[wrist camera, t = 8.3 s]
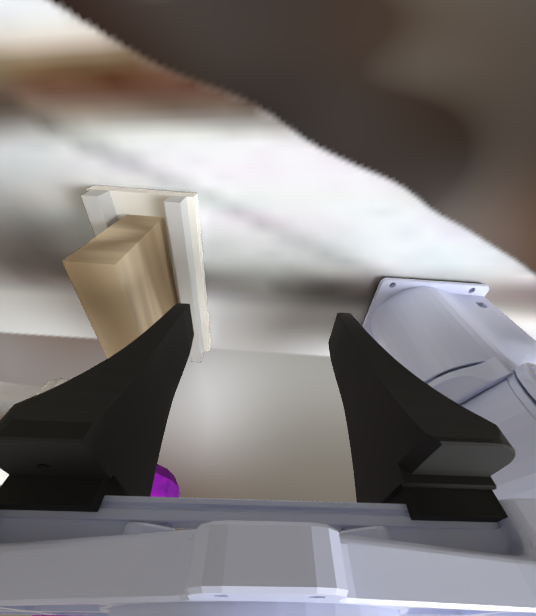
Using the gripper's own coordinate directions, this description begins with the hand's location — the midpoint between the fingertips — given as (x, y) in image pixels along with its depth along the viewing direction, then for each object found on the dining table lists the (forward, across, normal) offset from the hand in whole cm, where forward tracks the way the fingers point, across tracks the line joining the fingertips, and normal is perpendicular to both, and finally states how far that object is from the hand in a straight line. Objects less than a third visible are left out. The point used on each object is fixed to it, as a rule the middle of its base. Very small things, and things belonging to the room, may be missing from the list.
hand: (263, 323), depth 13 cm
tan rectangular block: (+8, +8, +4) cm, 13 cm away
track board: (+9, +8, +4) cm, 13 cm away
